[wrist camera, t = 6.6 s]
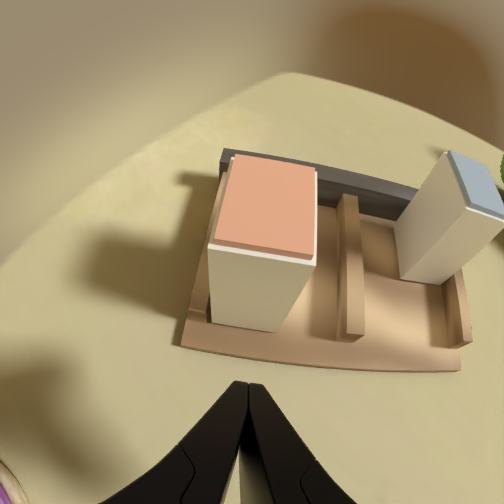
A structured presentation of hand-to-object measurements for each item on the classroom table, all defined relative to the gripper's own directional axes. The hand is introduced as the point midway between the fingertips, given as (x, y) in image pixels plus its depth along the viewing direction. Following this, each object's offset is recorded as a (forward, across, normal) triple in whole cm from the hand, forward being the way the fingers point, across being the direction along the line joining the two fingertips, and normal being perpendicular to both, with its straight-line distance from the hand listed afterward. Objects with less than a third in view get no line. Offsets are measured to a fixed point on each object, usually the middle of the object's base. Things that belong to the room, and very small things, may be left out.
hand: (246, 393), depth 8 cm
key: (+12, 0, +2) cm, 12 cm away
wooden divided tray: (+14, -6, 0) cm, 15 cm away
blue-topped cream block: (+16, -13, -2) cm, 21 cm away
